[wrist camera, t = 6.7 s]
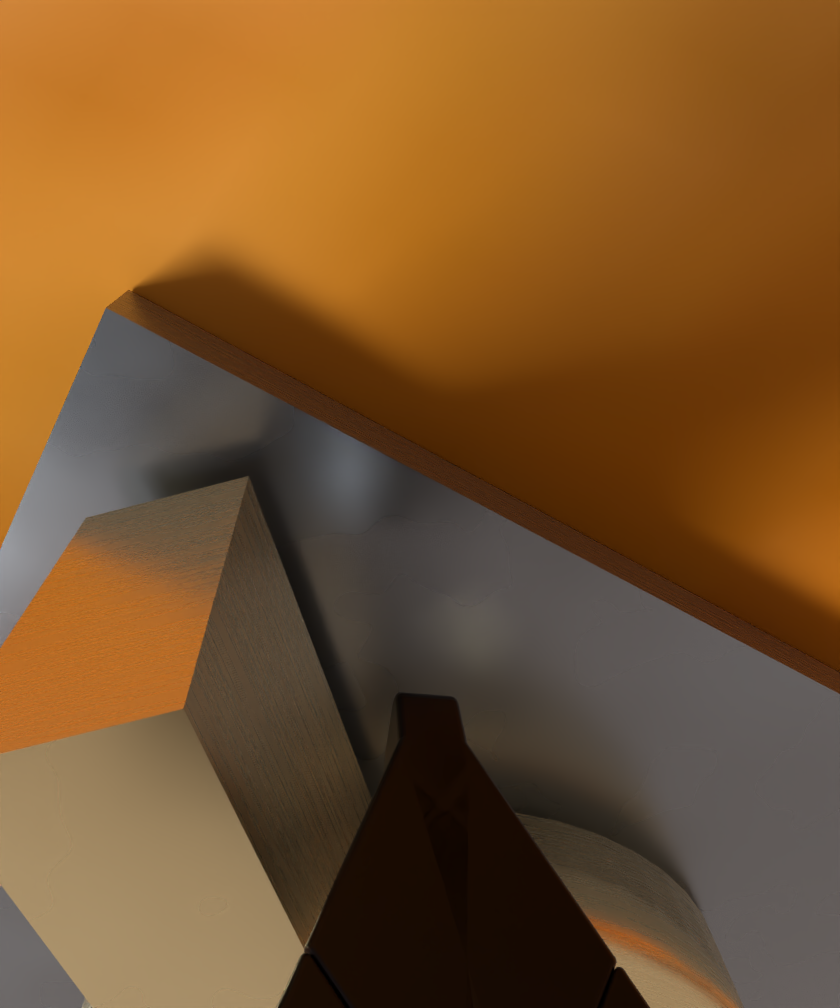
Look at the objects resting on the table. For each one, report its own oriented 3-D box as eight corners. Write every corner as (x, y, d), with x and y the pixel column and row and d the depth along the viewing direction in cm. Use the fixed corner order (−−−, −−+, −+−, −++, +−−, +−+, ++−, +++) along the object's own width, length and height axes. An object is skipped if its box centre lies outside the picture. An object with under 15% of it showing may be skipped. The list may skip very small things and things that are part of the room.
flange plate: (1092, 808, 15) (1137, 851, 15) (524, 1256, 22) (532, 1304, 22) (128, 289, 10) (105, 307, 9) (-240, 1115, 16) (-274, 1172, 16)
